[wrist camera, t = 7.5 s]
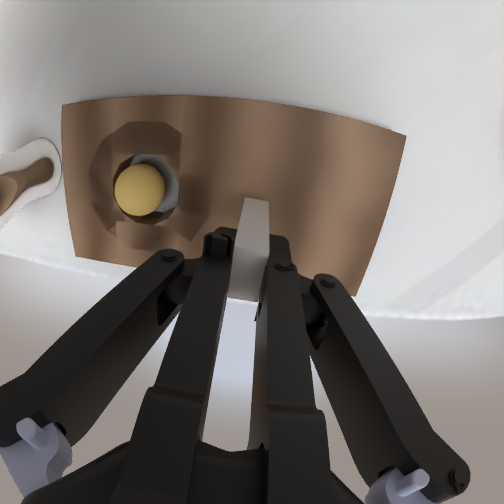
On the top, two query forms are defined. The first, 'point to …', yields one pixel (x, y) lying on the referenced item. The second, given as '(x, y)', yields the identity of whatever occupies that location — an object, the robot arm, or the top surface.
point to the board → (230, 178)
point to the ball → (139, 189)
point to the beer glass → (27, 176)
